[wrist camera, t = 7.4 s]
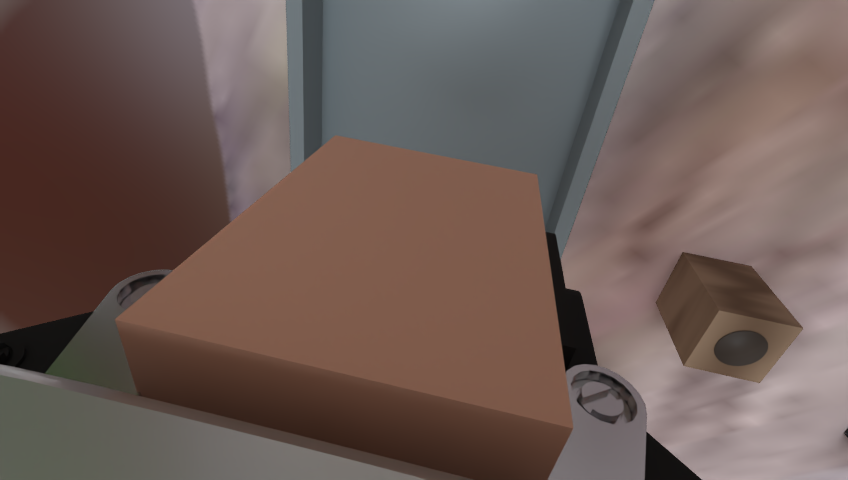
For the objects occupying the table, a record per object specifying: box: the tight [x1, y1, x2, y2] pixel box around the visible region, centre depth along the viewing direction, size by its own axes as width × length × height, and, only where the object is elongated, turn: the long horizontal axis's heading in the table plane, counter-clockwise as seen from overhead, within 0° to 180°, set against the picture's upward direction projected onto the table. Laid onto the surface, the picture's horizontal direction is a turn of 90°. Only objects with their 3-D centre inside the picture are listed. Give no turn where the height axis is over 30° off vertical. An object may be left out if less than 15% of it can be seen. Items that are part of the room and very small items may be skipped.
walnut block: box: [656, 252, 803, 383], centre depth 31 cm, size 5×5×7 cm
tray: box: [286, 0, 654, 260], centre depth 29 cm, size 20×20×4 cm
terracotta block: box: [115, 135, 573, 480], centre depth 9 cm, size 5×5×7 cm
